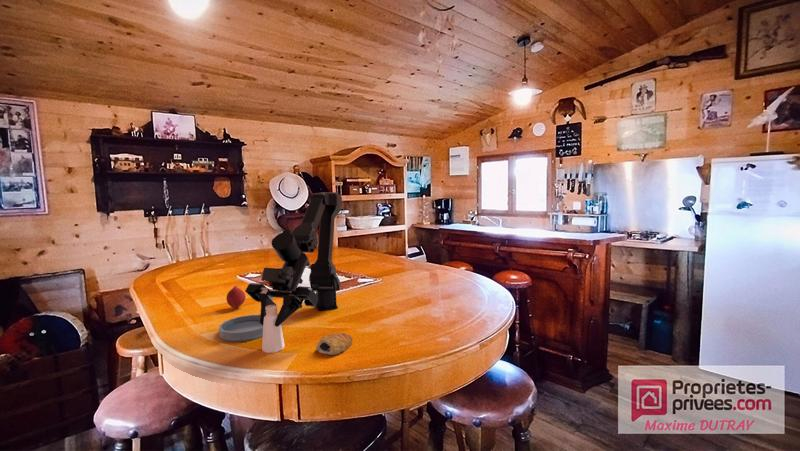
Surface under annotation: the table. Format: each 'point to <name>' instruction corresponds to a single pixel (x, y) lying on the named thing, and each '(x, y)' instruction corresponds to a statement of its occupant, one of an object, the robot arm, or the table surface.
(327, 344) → the pastry
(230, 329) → the dish
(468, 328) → the table surface
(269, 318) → the pepper shaker
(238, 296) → the onion
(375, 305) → the table surface
